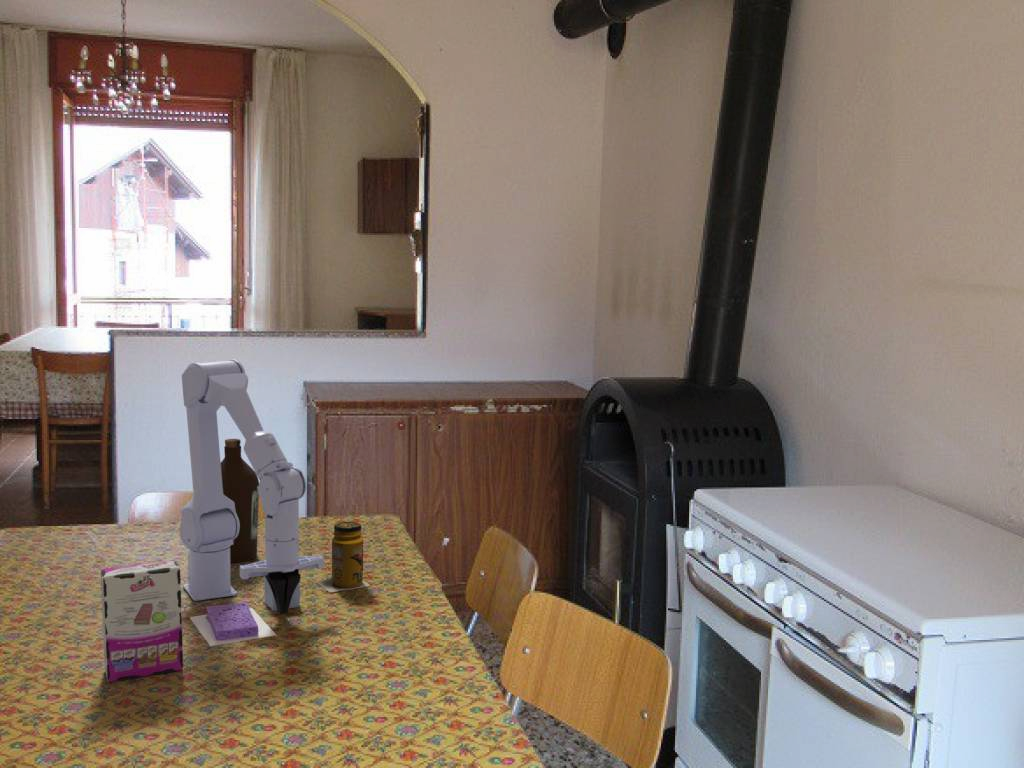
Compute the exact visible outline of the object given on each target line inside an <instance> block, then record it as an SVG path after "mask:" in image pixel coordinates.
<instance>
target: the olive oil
mask: <svg viewBox="0 0 1024 768" xmlns="http://www.w3.org/2000/svg"><path fill="white" fill-rule="evenodd" d="M223 453H224V458H223V459H222V461H220V462H221V474H222V486H223V494H224V495H225V496H226V497H228V498H229V499H231V500H232V501H233V502H234V503H235V510H236V514H237V516H238V518H239V522H240V529H239V534H238V536H237V537H236V538H235V539H234V540H233V545H231V546H230V564H236V563H243V562H249V561H252V560H253V559H255V558H256V557H257V556H258V528H259V506H260V504H259V503H260V502H259V501H260V497H259V494H258V489H257V486H259V483H260V480H259V478H258V476H257V474H256V472H255V471H254V469H253V467H252V466H250V465H249V464H248V463H247V462H246V461H245V460H244V459H243V457H242V445H241V439H239V438H227V439H224V452H223ZM214 511H216V510H214ZM209 512H211V511H209Z"/></svg>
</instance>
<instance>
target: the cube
mask: <svg viewBox="0 0 1024 768" xmlns="http://www.w3.org/2000/svg"><path fill="white" fill-rule="evenodd" d="M263 580H264V603H265V604H266V605H267V607H269V609H271V611H272V612H274V611H275V612H276V611H277V607H276V602H275V598H274V595H273V592H272V590H271V588H270V585H269V583H268V581H267V579H266V578H265V576H264V579H263ZM300 583H301V581H300V582H299V583H298V585H297V587H296V589H295V591H294V593H293V596H292V599H291V602H290V606H289V609H293V608H299V607H301V602H300V600H301V597H300V595H301V594H300V588H301V587H300V585H301V584H300Z"/></svg>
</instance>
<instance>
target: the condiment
mask: <svg viewBox="0 0 1024 768" xmlns="http://www.w3.org/2000/svg"><path fill="white" fill-rule="evenodd" d="M333 530H334V532H333V535H334V536H333V537H332V539H331V578H329V579H323V580H321V579H320V580H319V579H318V580H315V583H316V584H317V585H319V586H320V587H321V588H323V589H324V590H326V591H327V592H329V593H331V594H332V593H336V592H341V591H347V590H348V591H349V590H356V589H361V588H368V587H370V586H371V584H369V583H368V582H366V581H364V538H363V536H362V525H361V523H359V522H357V521H340V522H337V523H336V524H334V526H333Z"/></svg>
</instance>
